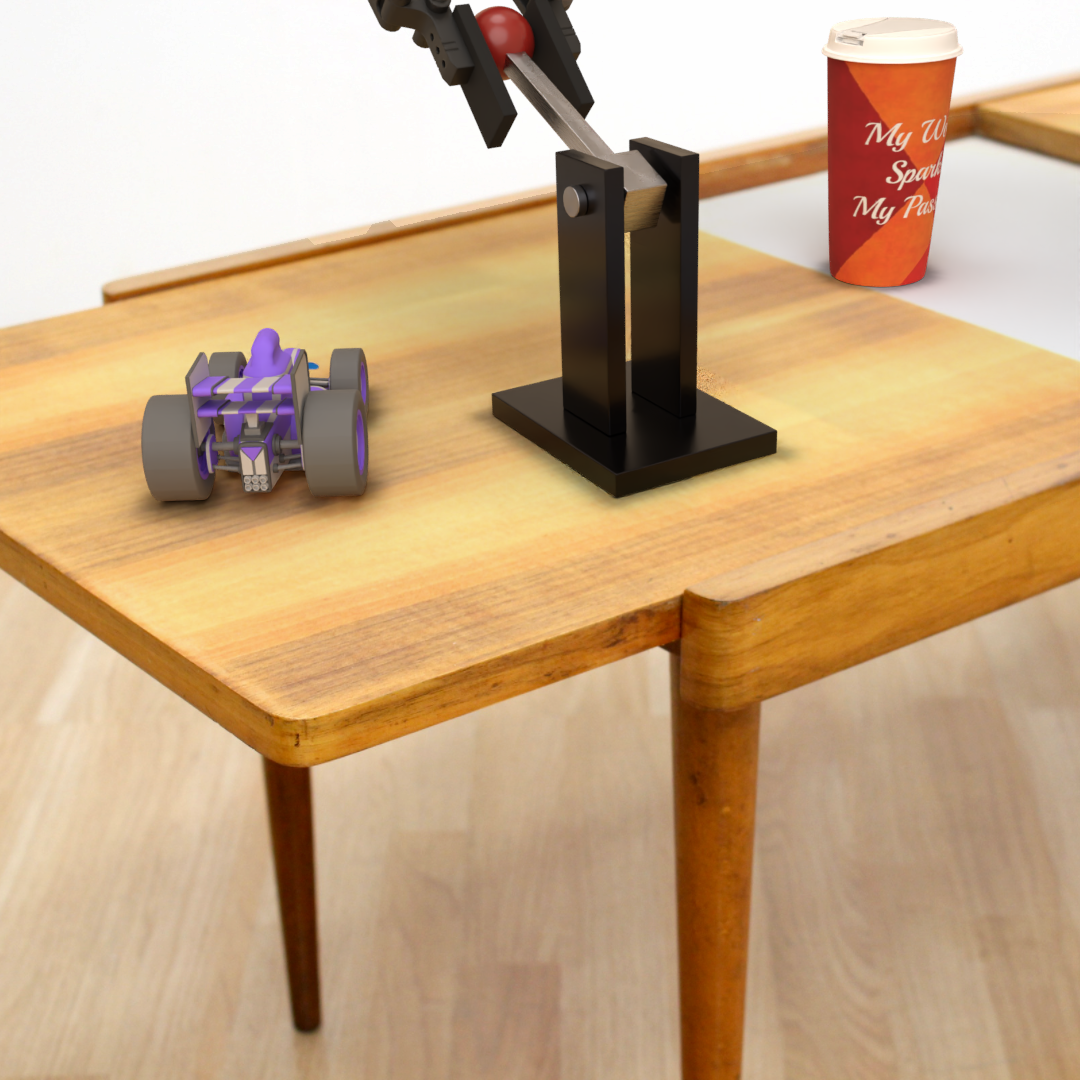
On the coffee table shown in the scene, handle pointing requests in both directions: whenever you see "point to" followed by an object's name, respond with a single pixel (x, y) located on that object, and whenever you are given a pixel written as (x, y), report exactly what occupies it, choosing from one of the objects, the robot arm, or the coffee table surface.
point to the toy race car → (260, 423)
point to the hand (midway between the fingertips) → (540, 124)
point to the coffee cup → (886, 144)
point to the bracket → (656, 339)
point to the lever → (568, 113)
